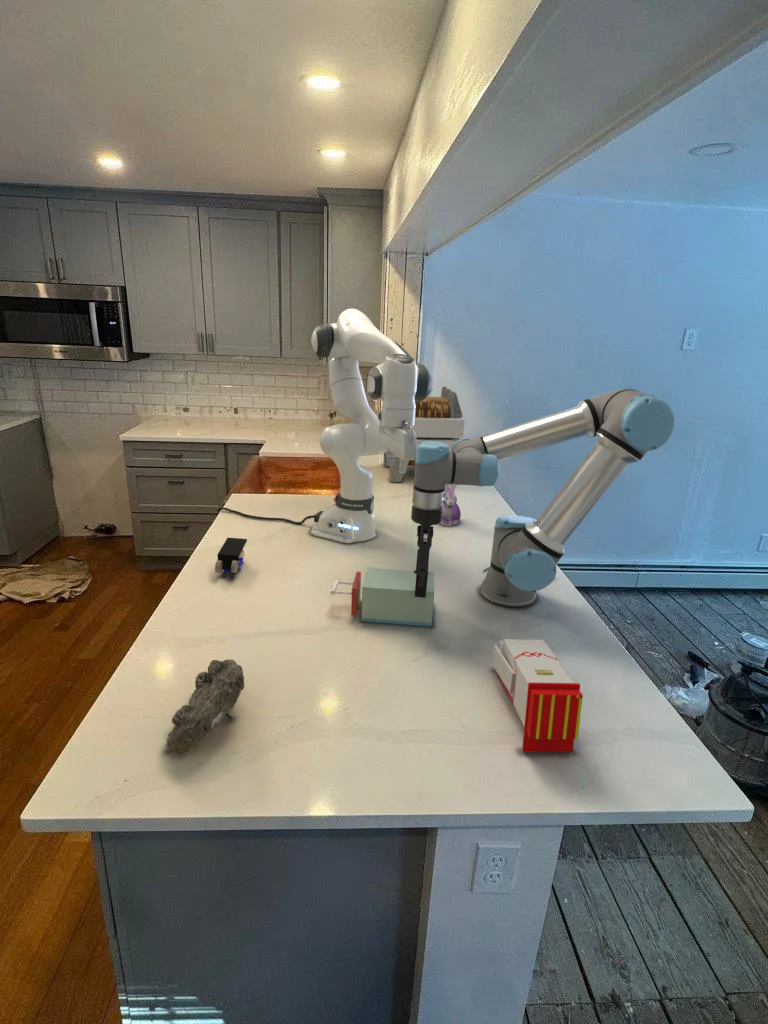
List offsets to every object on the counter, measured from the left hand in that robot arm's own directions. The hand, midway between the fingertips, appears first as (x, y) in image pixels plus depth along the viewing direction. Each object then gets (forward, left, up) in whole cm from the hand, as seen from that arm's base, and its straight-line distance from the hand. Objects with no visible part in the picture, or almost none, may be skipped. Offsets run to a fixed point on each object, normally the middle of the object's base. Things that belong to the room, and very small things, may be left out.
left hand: (396, 468), depth 154 cm
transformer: (-17, +116, -34) cm, 122 cm away
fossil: (-17, -68, -34) cm, 78 cm away
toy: (+41, -44, -34) cm, 69 cm away
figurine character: (-46, -10, -34) cm, 58 cm away
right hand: (+12, -17, -25) cm, 32 cm away
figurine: (+8, +54, -34) cm, 64 cm away
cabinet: (+7, -18, -34) cm, 39 cm away
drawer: (+1, -19, -33) cm, 38 cm away
